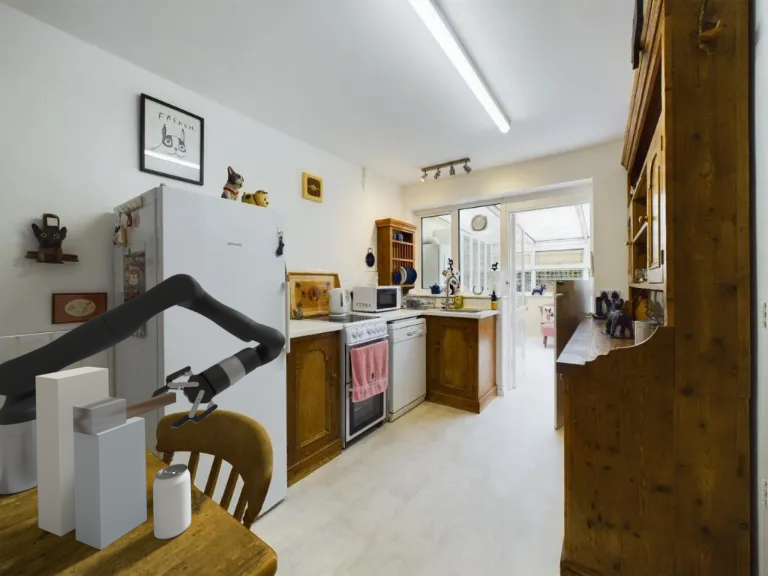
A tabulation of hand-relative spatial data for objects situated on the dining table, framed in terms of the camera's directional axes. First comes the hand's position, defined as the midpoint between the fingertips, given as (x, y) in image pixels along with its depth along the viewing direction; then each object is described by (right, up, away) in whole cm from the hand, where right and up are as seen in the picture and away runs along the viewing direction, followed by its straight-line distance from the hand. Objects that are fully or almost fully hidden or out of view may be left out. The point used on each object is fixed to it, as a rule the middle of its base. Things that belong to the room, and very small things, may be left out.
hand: (161, 412), depth 79 cm
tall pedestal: (-14, -20, -8) cm, 25 cm away
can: (+11, -20, -12) cm, 25 cm away
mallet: (-1, +2, -7) cm, 8 cm away
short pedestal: (-2, -20, -12) cm, 23 cm away
